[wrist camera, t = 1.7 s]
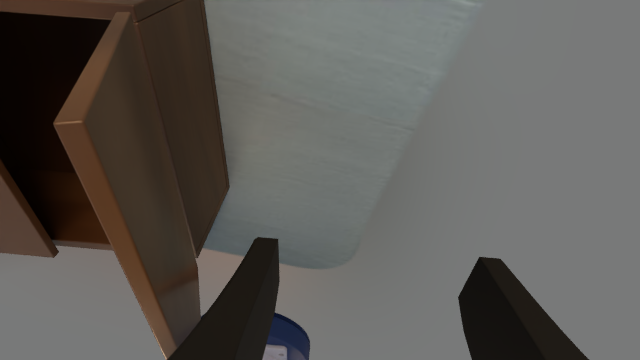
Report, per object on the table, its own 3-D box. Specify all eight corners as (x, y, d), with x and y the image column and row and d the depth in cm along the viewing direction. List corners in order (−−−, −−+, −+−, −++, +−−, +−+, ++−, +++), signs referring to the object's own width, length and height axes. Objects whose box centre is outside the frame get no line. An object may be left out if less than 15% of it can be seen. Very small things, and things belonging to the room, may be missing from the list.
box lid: (115, 11, 10) (130, 11, 10) (189, 269, 17) (197, 267, 17) (51, 123, 5) (83, 120, 5) (195, 422, 12) (206, 418, 12)
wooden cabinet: (200, -23, 15) (119, 10, 10) (229, 186, 22) (192, 271, 17) (-104, -45, 15) (-346, -26, 10) (22, 169, 23) (-78, 246, 17)
